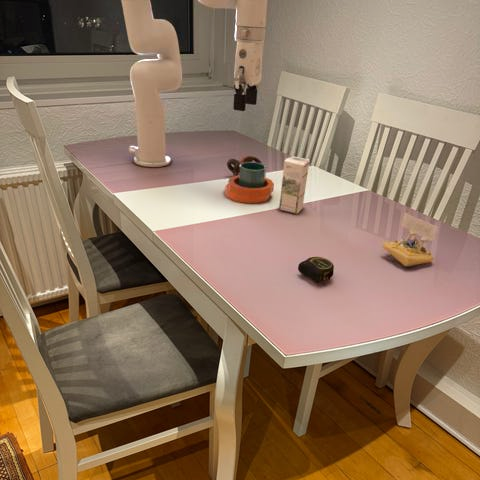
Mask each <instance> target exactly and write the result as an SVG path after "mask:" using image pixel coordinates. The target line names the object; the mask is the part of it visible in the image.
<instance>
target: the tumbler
mask: <svg viewBox="0 0 480 480" xmlns="http://www.w3.org/2000/svg"><path fill="white" fill-rule="evenodd" d="M261 163H262V162H261ZM261 163H256V162H255V161H252V162H245V163H241V164H240V170H239V173H238V175H239V186H241V187H247V188H261V187H265V178H266V174H267V166H266V165H265V164H263V163H262V164H261Z"/></svg>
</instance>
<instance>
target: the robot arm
mask: <svg viewBox="0 0 480 480" xmlns="http://www.w3.org/2000/svg"><path fill="white" fill-rule="evenodd" d="M120 2H121V6H122V11H123V17H124V23H125V29H126V34H127V39H128V40H127V41H128V43H129V47H130V49H131V51H132V52H133V53H135V54H137V55H141V56H146V55H148V56H149V55H151V56H152V55H157V58H152V59H151V58H150V59H141V60H138V61H136V62H135V63H134V64H132V66H131V67H130V70H129V78H130V83H131V88H132V93H133V97H134V109H135V110H134V111H135V124H136V140H137V141H136V142H137V146H136V145H135V146H134V145H129V146H128V153H129V154H134V155H135V156H134V157H133V162H134V163H135V164H136V165H137V166H141V167H145V168H160V167H165V166H168V165H170V164H171V162H172V161H171V160H172V159H171V157H169V156H168V155H167V145H166V143H167V141H166V138H167V137H166V111H165V110H166V109H165V105H164V102H163V100H162V99H161V97H160V93H167V92H173V91H176V90H178V89H179V88H180V87H181V86H182V82H183V67H182V59H181V54H180V53H181V52H180V46H179V39H178V35H177V32H176V29H175V27H174V26H173V24H172V23H171V22H169V21H168V20H166V19H163V18H162V19H161V18H159V19H158V18H154V14H153V10H152V4H151V0H120ZM197 2H199V3H200V4H201V5H203V6H206V7H208V8H211V9H228V10H235V27H234V30H235V31H234V41H235V42H236V48H235V49H236V50H235V57H234V58H235V59H234V71H233V75H234V76H233V83H234V85H233V88H234V89H233V107H232V108H233V110H234V111H240V112H245V111H246V105H253V106H255V105H257V102H258V101H257V100H258V88H259V83H260V82H262V78H263V54H264V53H263V44H264V43H265V38H266V37H265V34H266V24H267V11H268V0H197Z"/></svg>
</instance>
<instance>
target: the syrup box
mask: <svg viewBox="0 0 480 480" xmlns="http://www.w3.org/2000/svg"><path fill="white" fill-rule="evenodd" d="M309 167H310V159H309V158H303V157H299V156H295V155H290V156H288V157H287V158H285V160H284V162H283V169H282V180H281V187H280V196H279V197H280V198H279V205H278V206H279V207H278V210H279V211H281V212H287V213H291V214H294V215H295V214H296V215H298V214H299V212H301V210H302V209H303V208H304V203H305V193H306V187H307V181H308V175H309V169H310V168H309Z"/></svg>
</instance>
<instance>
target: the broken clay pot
mask: <svg viewBox="0 0 480 480" xmlns="http://www.w3.org/2000/svg"><path fill="white" fill-rule="evenodd" d="M245 162H256V163H261V164H263V163H262V161H261V160H260V159H259V158H257V157H256V156H253V155H244V156H243V157H242V158H241V159H239V160H238V159H235V158H230V159H228V160H227V162H226V167H227V168H228V170H229V171H230V172H231V173H232V175H233V176H237V175H239V170H240V164H241V163H245Z"/></svg>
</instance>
